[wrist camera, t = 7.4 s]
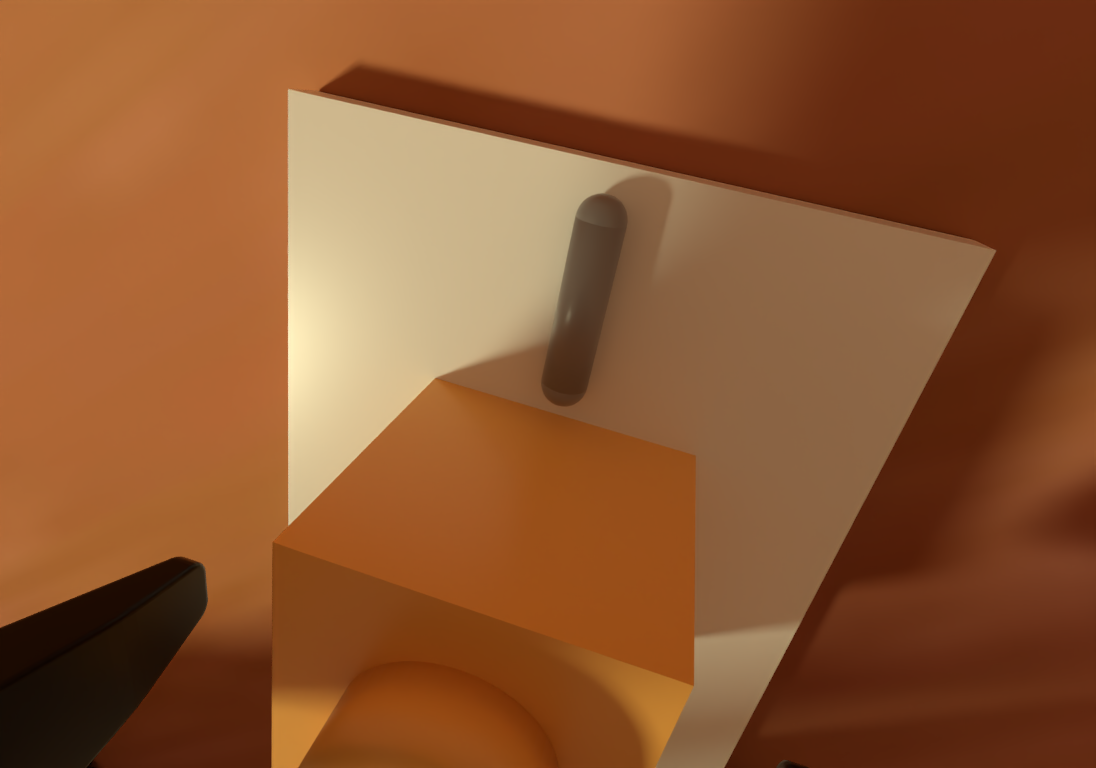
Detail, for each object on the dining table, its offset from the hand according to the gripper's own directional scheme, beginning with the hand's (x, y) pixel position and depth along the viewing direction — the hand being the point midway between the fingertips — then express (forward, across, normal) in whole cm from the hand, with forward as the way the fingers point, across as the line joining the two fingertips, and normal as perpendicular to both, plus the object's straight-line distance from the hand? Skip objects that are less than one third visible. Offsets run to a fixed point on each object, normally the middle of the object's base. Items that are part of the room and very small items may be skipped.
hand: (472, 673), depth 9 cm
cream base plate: (+4, 0, 0) cm, 4 cm away
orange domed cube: (+4, 0, 0) cm, 4 cm away
